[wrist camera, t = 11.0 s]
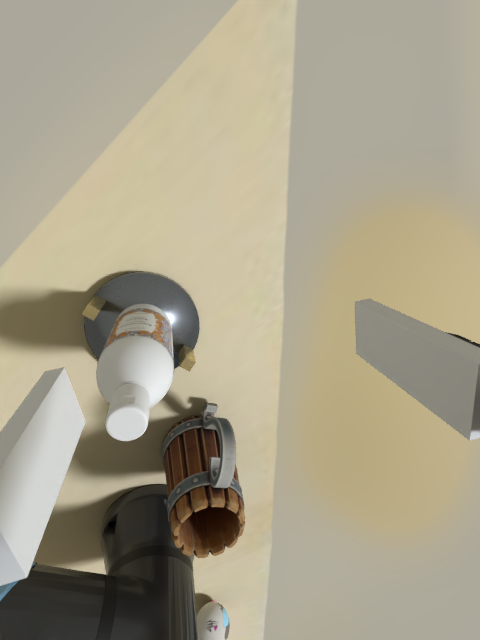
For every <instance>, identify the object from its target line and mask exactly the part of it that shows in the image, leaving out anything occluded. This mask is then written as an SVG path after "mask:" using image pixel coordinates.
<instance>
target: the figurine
mask: <svg viewBox="0 0 480 640" xmlns="http://www.w3.org/2000/svg"><path fill="white" fill-rule="evenodd" d="M197 626H198V638H199V640H227V638H228V634H229V618H228V615H227V612H226V610H225V609H224V608H223V606H222V605H220V604H219V603H217V602H215V600H212V601H210V602H209V603H206V604H205V605H204V606H203V607H202V608H201V609H200V611H199V613H198V615H197Z"/></svg>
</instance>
